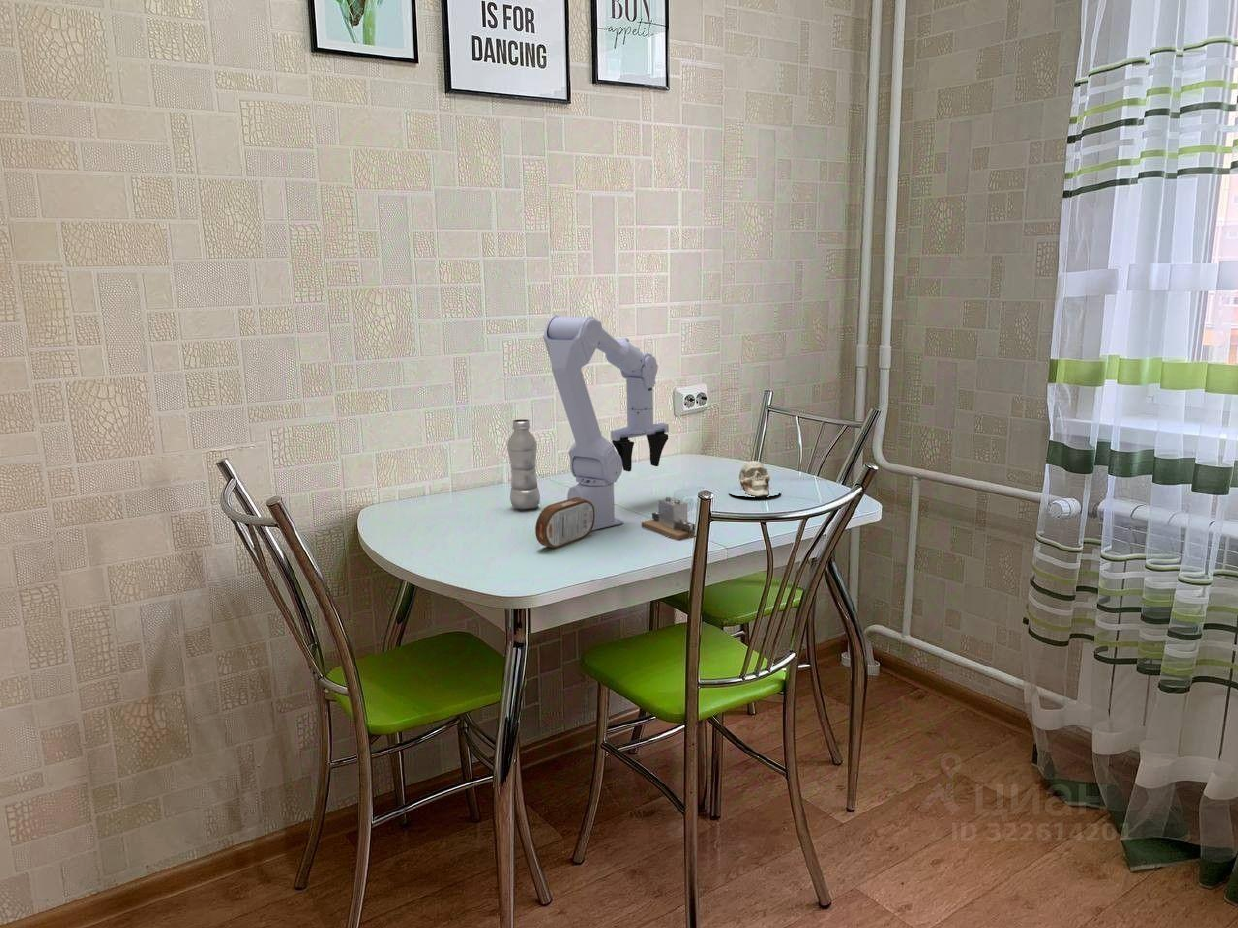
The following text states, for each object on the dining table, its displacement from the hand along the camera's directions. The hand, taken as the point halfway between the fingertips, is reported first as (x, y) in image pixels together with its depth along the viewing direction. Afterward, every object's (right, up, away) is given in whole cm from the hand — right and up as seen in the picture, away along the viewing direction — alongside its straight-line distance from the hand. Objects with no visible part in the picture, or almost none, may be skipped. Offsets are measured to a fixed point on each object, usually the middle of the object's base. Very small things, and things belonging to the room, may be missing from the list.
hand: (640, 467), depth 205 cm
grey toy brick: (+6, -12, -18) cm, 22 cm away
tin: (-15, -15, -24) cm, 32 cm away
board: (+6, -13, -18) cm, 23 cm away
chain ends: (+6, -13, -18) cm, 23 cm away
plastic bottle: (-26, -9, +1) cm, 27 cm away
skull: (+27, -6, +9) cm, 29 cm away
